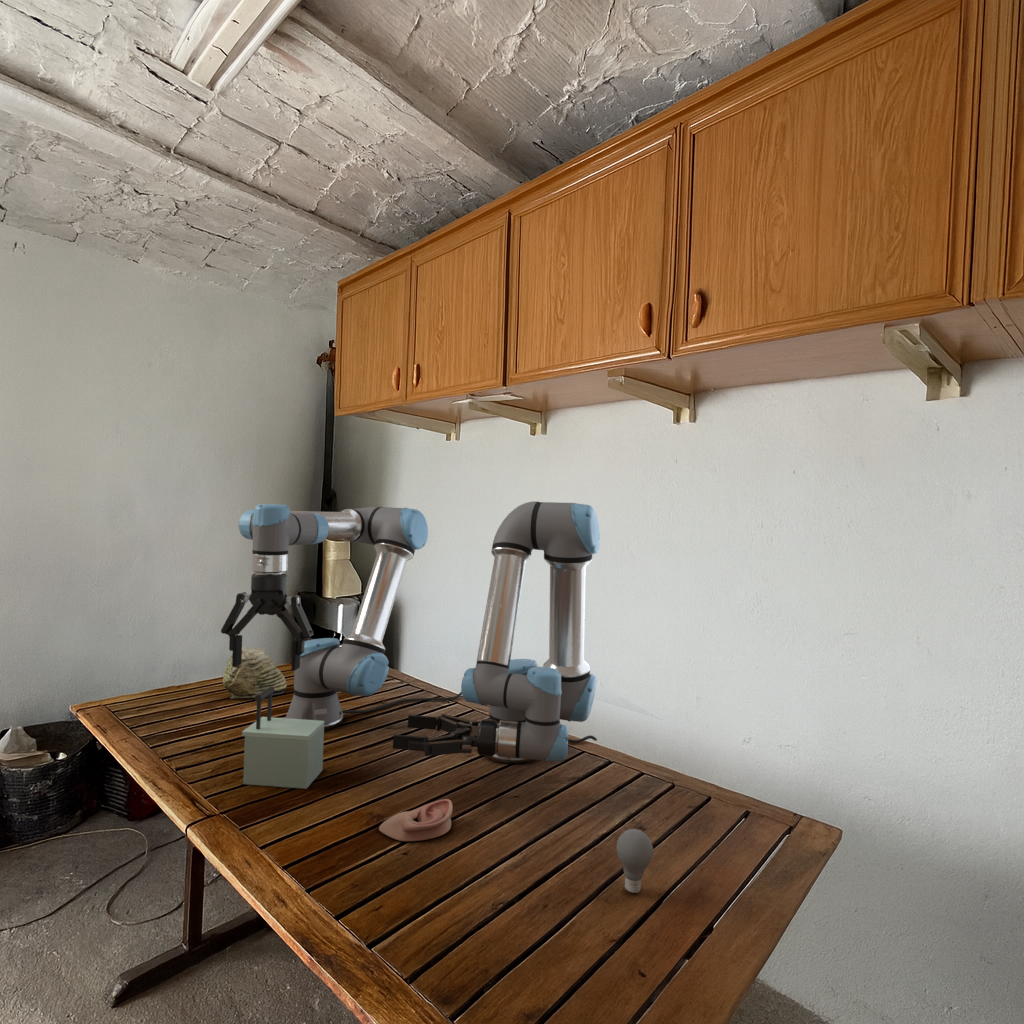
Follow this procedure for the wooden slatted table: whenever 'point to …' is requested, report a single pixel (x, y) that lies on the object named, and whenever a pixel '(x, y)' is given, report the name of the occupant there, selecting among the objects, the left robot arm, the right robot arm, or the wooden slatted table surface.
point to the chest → (283, 761)
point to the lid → (280, 723)
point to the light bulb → (634, 857)
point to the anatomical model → (420, 822)
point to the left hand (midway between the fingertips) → (266, 667)
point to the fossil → (253, 675)
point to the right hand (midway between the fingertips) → (401, 730)
